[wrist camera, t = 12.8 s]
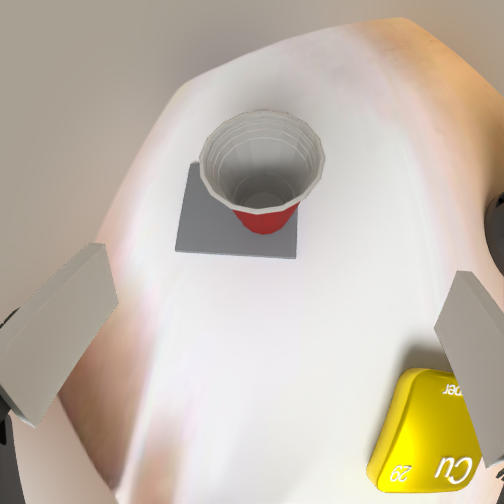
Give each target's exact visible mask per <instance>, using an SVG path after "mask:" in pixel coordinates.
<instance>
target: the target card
mask: <svg viewBox="0 0 504 504" xmlns="http://www.w3.org/2000/svg"><path fill="white" fill-rule="evenodd" d="M296 242H297V208H296V210H295V212H294V213H293V214H292V216H291V217H290V218H289V220H288V221H287V222H286V224H285V225H284V226H283V227H282V228H281V229H280V230H278V231H276V232H274V233H272V234H264V235H261V234H257V233H254V232H252V231H250V230H249V229H248V228H246V227H245V226H244V225H243V224H242V222H241V220H239V219H238V217H237V216H236V215H235V213H234V212H233V210H232V209H230V208H229V207H228V206H226V205H225V204H223V203H222V202H220V201H219V200H217V199H216V198H214V197H213V196H211V195H210V193H209V191H208V189H207V188H206V186H205V184H204V182H203V181H202V179H201V177H200V164H190V169H189V174H188V179H187V184H186V189H185V194H184V199H183V205H182V210H181V216H180V222H179V227H178V233H177V239H176V246H175V251H176V252H187V253H203V254H219V255H236V256H252V257H269V258H285V259H296Z"/></svg>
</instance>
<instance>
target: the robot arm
mask: <svg viewBox="0 0 504 504" xmlns="http://www.w3.org/2000/svg"><path fill="white" fill-rule="evenodd" d="M485 232H486V238H487V243H488V247H489V250H490V253H491V255H492V258H493V260H494V262H495V264H496V266H497V267H498V269H499V271H500V272H501V273H502V275H503V276H504V192H502V193H501V194H499V195H498V196H497V197H496V198H494V199H493V200H492V201H491V202H490V204H489V206H488V208H487V211H486V216H485ZM118 303H119V302H118V298H117V294H116V290H115V286H114V282H113V278H112V274H111V269H110V265H109V260H108V255H107V251H106V246H105V244H99V243H89V244H88V245H86V246H85V247H84V248H83V249H82V250H81V251H80V252H79V253H77V254H76V255H75V256H74V257H73V258H72V259H70V260H69V261H68V262H67V263H66V264H65V265H64V266H63V267H62V268H61V269H59V270H58V271H57V272H56V273H55V274H54V275H53V276H52V277H51V278H50V279H49V280H48V281H47V282H46V283H45V284H44V285H42V286H41V287H40V288H39V289H38V290H37V291H36V293H34V294H33V295H32V296H31V297H30V298H29V299H28V300H27V301H26V302H25V303H24V304H23V305H22V306H21V307H20V308H18V309H17V310H15V311H13V312H12V313H11V314H10V315H9V316H8V318H7V319H6V320H5V321H4V324H3V323H2V324H1V325H0V504H26V503H25V499H24V495H23V491H22V487H21V482H20V477H19V472H18V466H17V460H16V453H15V446H14V438H13V429H12V421H11V417H10V416H9V415H8V412H9V411H10V409H12V411H13V412H14V413H15V414H16V415H17V416H18V418H19V419H20V420H22V421H23V422H25V423H27V424H29V425H31V426H32V427H34V428H37V426H38V425H39V423H40V421H41V419H42V418H43V416H44V414H45V413H46V411H47V409H48V408H49V406H50V404H51V403H52V401H53V399H54V398H55V396H56V395H57V393H58V391H59V390H60V388H61V387H62V385H63V384H64V382H65V380H66V379H67V377H68V376H69V374H70V373H71V371H72V370H73V368H74V367H75V365H76V364H77V362H78V361H79V359H80V358H81V356H82V355H83V353H84V352H85V350H86V349H87V347H88V346H89V344H90V343H91V341H92V340H93V338H94V337H95V336H96V334H97V333H98V331H99V330H100V328H101V327H102V326H103V324H104V323H105V321H106V320H107V319H108V317H109V316H110V314H111V313H112V312H113V310H114V309H115V308H116V306H117V305H118ZM434 330H435V332H436V334H437V336H438V338H439V340H440V342H441V345H442V347H443V349H444V351H445V354H446V356H447V358H448V360H449V363H450V365H451V368H452V370H453V372H454V375H455V377H456V380H457V382H458V385H459V387H460V390H461V392H462V395H463V398H464V400H465V403H466V406H467V409H468V412H469V414H470V417H471V420H472V423H473V426H474V429H475V432H476V436H477V439H478V442H479V445H480V449H481V452H482V456H483V459H484V463H485V467H486V468H489V467H492V466H495V465H497V464H500V463H503V462H504V313H503V312H502V310H501V309H500V308H499V306H498V305H497V304H496V302H495V301H494V300H493V298H492V297H491V296H490V294H489V293H488V292H487V290H486V289H485V288H484V286H483V285H482V284H481V283H480V281H479V280H478V279H477V278H476V276H475V275H474V274H473V273H472V272H469V271H457V272H456V275H455V277H454V280H453V283H452V285H451V288H450V291H449V293H448V296H447V298H446V301H445V303H444V306H443V308H442V311H441V313H440V315H439V318H438V320H437V322H436V324H435V327H434ZM503 474H504V468H503V469H502V470H501V471H500V472H499V473H498V474H497V476H496V478H499V477H501V476H502V475H503ZM501 480H503V481H504V477H503V478H502V479H501ZM496 504H504V485H503V488H502V491H501V493H500V496H499V498H498V501H497V503H496Z"/></svg>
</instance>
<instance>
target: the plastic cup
mask: <svg viewBox="0 0 504 504" xmlns="http://www.w3.org/2000/svg"><path fill="white" fill-rule="evenodd" d="M199 159H200V177H201V179H202V181H203V182H204V184H205V186H206V188H207V189H208V191H209V193H210V195H211V196H213V197H214V198H216V199H217V200H219V201H220V202H222V203H223V204H225V205H226V206H228V207H229V208H230V209H232V210H233V212H234V213H235V215H236V216H237V217H238V219H239V220H241V222H242V224H243V225H244V226H245V227H246V228H248V229H249V230H250V231H252V232H254V233H257V234H261V235H264V234H272V233H274V232H276V231H278V230H280V229H281V228H282V227H283V226H284V225H285V224H286V222H287V221H288V220H289V218H290V217H291V216H292V214H293V213H294V212H295V210H296V208H297V207H298V205H299V203H300V202H301V201H302V200H304V199H305V198H306V197H307V196H308V194H309V193H310V192H311V191H312V189H313V188H314V187H315V186H316V184H317V183H318V182H319V180H320V179H321V176H322V171H323V166H324V161H325V155H324V152H323V148H322V145H321V141H320V138H319V137H318V136H317V135H316V134H315V133H314V131H313V130H312V129H311V128H310V127H309V126H308V125H307V124H306V123H305V122H303V121H301V120H299V119H297V118H295V117H293V116H291V115H290V114H288V113H283V112H276V111H269V110H260V111H254V112H247V113H242V114H240V115H238V116H236V117H234V118H232V119H230V120H228V121H226V122H224V123H222V124H221V125H220V126H219V127H218V128H217V129H216V130H215V131H214V132H213V133H212V134H211V135H210V136H209V137H208V138H207V140H206V142H205V145H204V147H203V149H202V152H201V154H200V156H199Z"/></svg>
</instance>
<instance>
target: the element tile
mask: <svg viewBox="0 0 504 504" xmlns="http://www.w3.org/2000/svg"><path fill="white" fill-rule="evenodd" d="M481 458H482V452H481V449H480V445H479V442H478V439H477V436H476V432H475V429H474V426H473V423H472V420H471V417H470V414H469V412H468V409H467V406H466V403H465V400H464V398H463V395H462V392H461V390H460V387H459V385H458V382H457V380H456V377H455V375H454V373H451V372H445V371H440V370H435V369H427V368H410V369H407V370H406V371H405V372H403V373H402V375H401V376H400V378H399V380H398V382H397V385H396V388H395V392H394V395H393V398H392V401H391V404H390V407H389V410H388V413H387V416H386V419H385V422H384V425H383V428H382V430H381V433H380V436H379V438H378V441H377V444H376V446H375V449H374V451H373V454H372V456H371V458H370V461H369V463H368V465H367V476H368V478H369V479H370V481H371V482H372V483H373V484H374V485H375V487H376V488H377V489H378V490H380V491H382V492H386V493H437V492H452V491H458V490H461V489H463V488H464V487H466V486H467V485H468V484H469V482H470V481H471V480H472V478H473V476H474V474H475V472H476V470H477V467H478V465H479V462H480V460H481Z"/></svg>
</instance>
